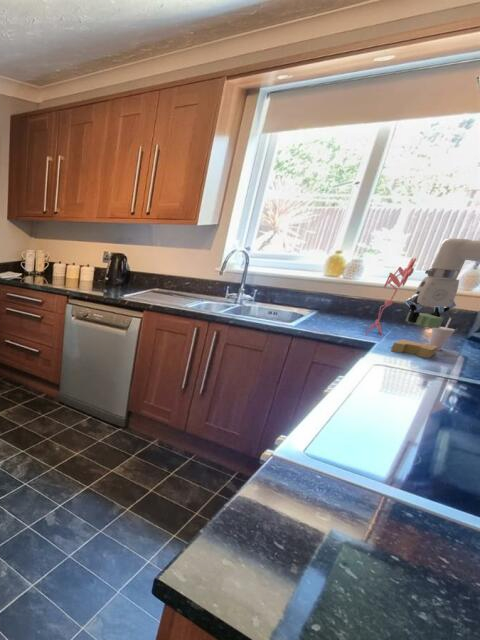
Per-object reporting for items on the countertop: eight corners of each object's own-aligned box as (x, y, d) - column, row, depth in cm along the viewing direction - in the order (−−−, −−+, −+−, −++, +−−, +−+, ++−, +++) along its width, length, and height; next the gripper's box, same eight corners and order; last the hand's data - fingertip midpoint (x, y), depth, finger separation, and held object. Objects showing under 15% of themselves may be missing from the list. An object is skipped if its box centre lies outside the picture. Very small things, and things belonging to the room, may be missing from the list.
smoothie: (448, 354, 171) (464, 320, 166) (428, 352, 173) (444, 318, 168) (437, 350, 177) (453, 317, 172) (418, 347, 179) (433, 315, 174)
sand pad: (434, 354, 170) (438, 346, 169) (428, 358, 164) (432, 349, 163) (397, 347, 178) (401, 339, 177) (390, 350, 172) (394, 342, 171)
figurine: (361, 336, 195) (393, 257, 182) (364, 327, 212) (393, 255, 199) (407, 343, 185) (444, 261, 172) (406, 334, 203) (439, 258, 190)
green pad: (424, 326, 156) (428, 317, 154) (405, 320, 165) (409, 312, 164) (442, 328, 154) (446, 319, 153) (422, 322, 164) (426, 313, 162)
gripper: (422, 273, 153) (400, 322, 159) (480, 277, 149) (456, 327, 155) (407, 271, 159) (388, 318, 166) (463, 275, 155) (441, 323, 162)
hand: (421, 322), depth 161 cm, fingers closed on green pad, 5 cm apart
